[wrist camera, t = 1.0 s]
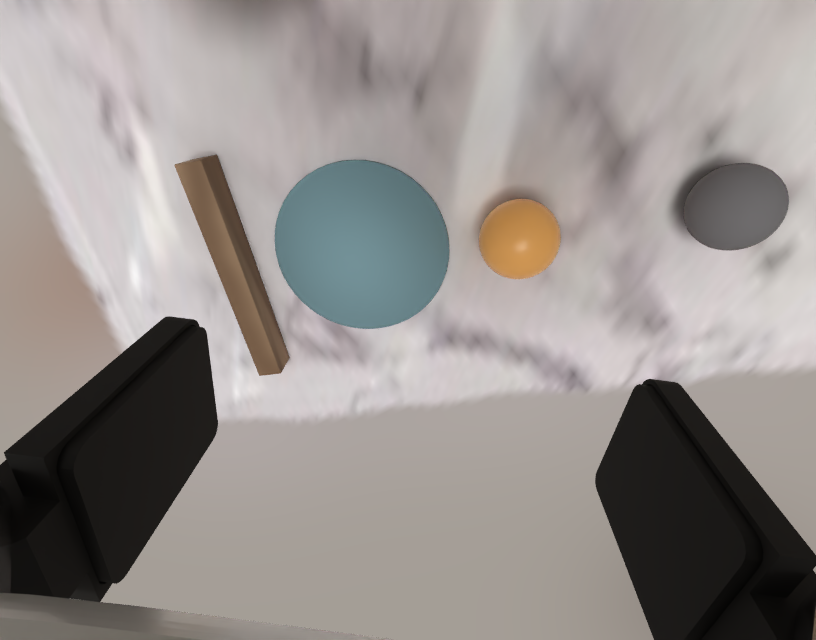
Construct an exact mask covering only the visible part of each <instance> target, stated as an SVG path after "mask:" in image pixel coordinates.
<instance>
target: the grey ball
mask: <svg viewBox="0 0 816 640" xmlns="http://www.w3.org/2000/svg"><path fill="white" fill-rule="evenodd" d="M788 204H789V196H788V191H787V188H786V185H785V184H784V182H783V181H782V179H781V178H780V177H779V176H778V175H777V174H776V173H774V172H773V171H772V170H770V169H768V168H766V167H763V166H760V165H757V164H750V163H738V164H731V165H727V166H724V167H721V168H718V169H716V170H714V171H712V172H710V173H709V174H707V175H706V176H704V177H703V178H702V179H700V180H699V181H698V182H697V183H696V184H695V186H694V187H693V188H692V189H691V191H690V193H689V194H688V196H687V199H686V202H685V205H684V221H685V224H686V227H687V229H688V231H689V232H690V234H691V235H692V236H693V237H694V238H695V239H696V240H697V241H699V242H700V243H702V244H704V245H706V246H708V247H710V248H714V249H719V250H739V249H744V248H747V247H751V246H753V245H756V244H758V243H759V242H761V241H763V240H765V239H766V238H768V237H769V236H770V235H772V234H773V233H774V232H775V231H776V230H777V228H778V227H779V226H780V225H781V223H782V222H783V220H784V218H785V216H786V213H787V210H788Z"/></svg>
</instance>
